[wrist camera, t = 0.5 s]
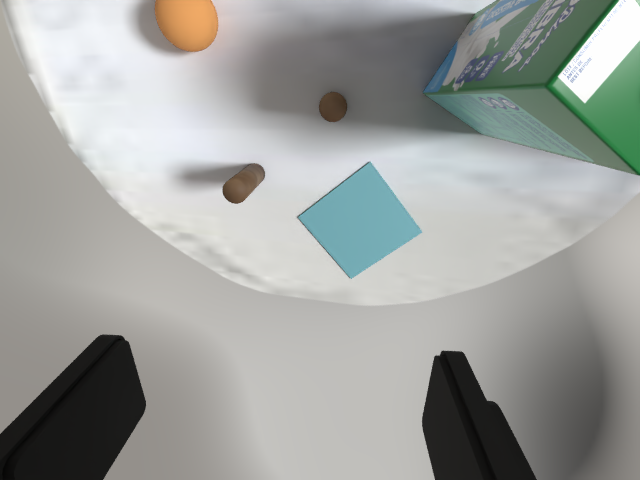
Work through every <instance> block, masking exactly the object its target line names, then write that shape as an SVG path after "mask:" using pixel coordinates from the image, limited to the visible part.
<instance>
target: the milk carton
mask: <svg viewBox="0 0 640 480" xmlns="http://www.w3.org/2000/svg"><path fill="white" fill-rule="evenodd" d="M423 94H425V95H426V96H427V97H429V98H430V99H432V100H433V101H435V102H436V103H437V104H439V105H440V106H442V107H443V108H445V109H446V110H448V111H449V112H450V113H452V114H453V115H455V116H456V117H458V118H459V119H461V120H462V121H463V122H465V123H466V124H468V125H469V126H471V127H472V128H473V129H475V130H476V131H478V132H479V133H481V134H482V135H486V136H490V137H493V138H497V139H501V140H505V141H509V142H513V143H516V144H520V145H524V146H528V147H532V148H536V149H539V150H543V151H547V152H551V153H555V154H559V155H562V156H566V157H570V158H574V159H578V160H582V161H585V162H589V163H593V164H597V165H601V166H605V167H608V168H612V169H616V170H620V171H624V172H628V173H631V174H635V175H640V0H496V1H495V2H493V3H492V4H490V5H488V6H487V7H485V8H484V9H482V10H480V11H479V12H477V13H475V15H474V16H473V18H472V19H471V21H470V22H469V24H468V25H467V27H466V28H465V30H464V31H463V33H462V34H461V36H460V37H459V39H458V40H457V42H456V43H455V45H454V46H453V48H452V49H451V51H450V52H449V54H448V55H447V57H446V58H445V60H444V61H443V63H442V64H441V66H440V67H439V69H438V70H437V72H436V73H435V75H434V76H433V78H432V79H431V81H430V82H429V84H428V85H427V87H426V88H425V90H424V91H423Z"/></svg>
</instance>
